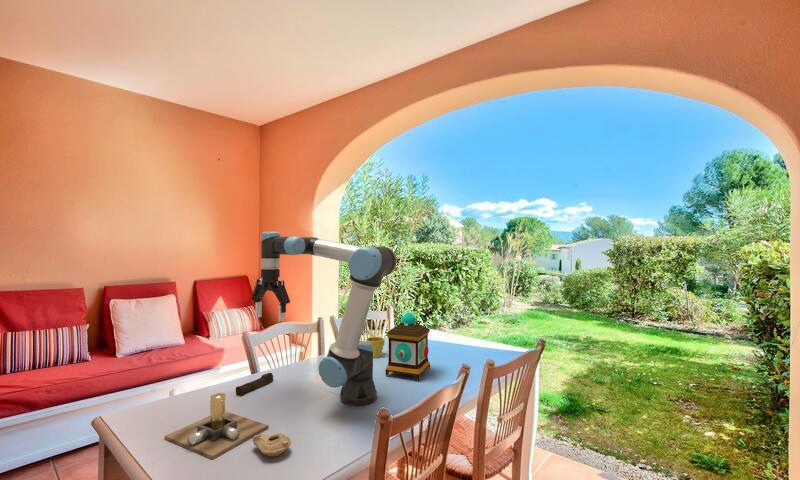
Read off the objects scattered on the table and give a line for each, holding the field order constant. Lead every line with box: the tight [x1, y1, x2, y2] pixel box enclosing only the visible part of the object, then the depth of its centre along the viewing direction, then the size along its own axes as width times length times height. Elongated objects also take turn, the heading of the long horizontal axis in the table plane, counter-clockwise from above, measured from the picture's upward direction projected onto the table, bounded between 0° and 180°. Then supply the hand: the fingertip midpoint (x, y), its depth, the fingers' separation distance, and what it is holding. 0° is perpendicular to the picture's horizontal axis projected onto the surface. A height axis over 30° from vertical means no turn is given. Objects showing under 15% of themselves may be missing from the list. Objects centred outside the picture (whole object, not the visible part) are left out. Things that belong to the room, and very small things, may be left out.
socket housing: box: [187, 417, 240, 446], centre depth 118 cm, size 13×13×3 cm
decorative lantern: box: [385, 312, 431, 382], centre depth 182 cm, size 20×20×30 cm
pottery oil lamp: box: [252, 432, 292, 457], centre depth 113 cm, size 9×12×7 cm
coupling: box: [209, 392, 226, 430], centre depth 122 cm, size 4×4×12 cm
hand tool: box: [235, 372, 274, 397], centre depth 162 cm, size 19×4×5 cm, turn 150°
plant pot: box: [365, 336, 385, 359], centre depth 209 cm, size 10×10×10 cm
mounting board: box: [164, 410, 270, 460], centre depth 123 cm, size 24×21×1 cm
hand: (269, 318), depth 156 cm, fingers open, 13 cm apart
